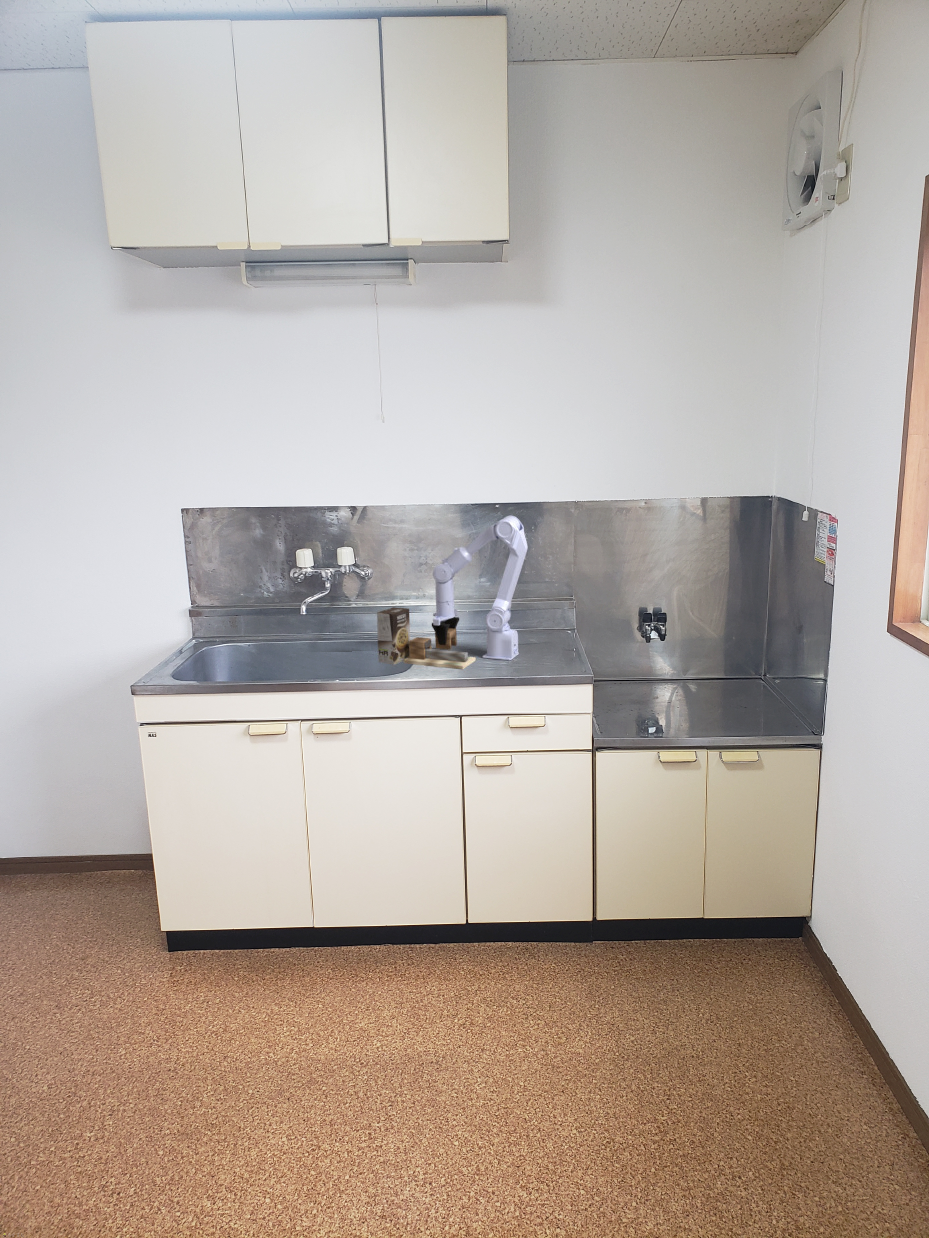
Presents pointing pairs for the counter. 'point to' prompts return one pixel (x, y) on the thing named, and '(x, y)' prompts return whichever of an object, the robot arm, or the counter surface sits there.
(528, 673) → the counter surface
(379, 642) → the coffee box
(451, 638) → the forked wooden block
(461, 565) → the robot arm
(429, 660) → the rail board
